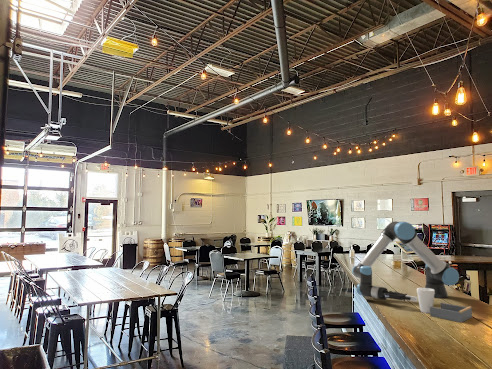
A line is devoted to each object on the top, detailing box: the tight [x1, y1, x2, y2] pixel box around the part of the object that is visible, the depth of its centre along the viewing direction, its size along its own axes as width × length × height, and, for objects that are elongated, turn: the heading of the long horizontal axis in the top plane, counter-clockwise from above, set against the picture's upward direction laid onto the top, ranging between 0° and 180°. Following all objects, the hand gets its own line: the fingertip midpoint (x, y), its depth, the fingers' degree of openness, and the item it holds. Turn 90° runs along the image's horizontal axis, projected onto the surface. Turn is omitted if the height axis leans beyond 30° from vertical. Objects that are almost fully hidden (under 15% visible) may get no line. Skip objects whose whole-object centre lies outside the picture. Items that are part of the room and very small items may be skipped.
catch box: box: [429, 302, 473, 323], centre depth 203 cm, size 16×16×6 cm
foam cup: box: [416, 287, 435, 314], centre depth 213 cm, size 10×9×13 cm
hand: (416, 299), depth 216 cm, fingers closed
